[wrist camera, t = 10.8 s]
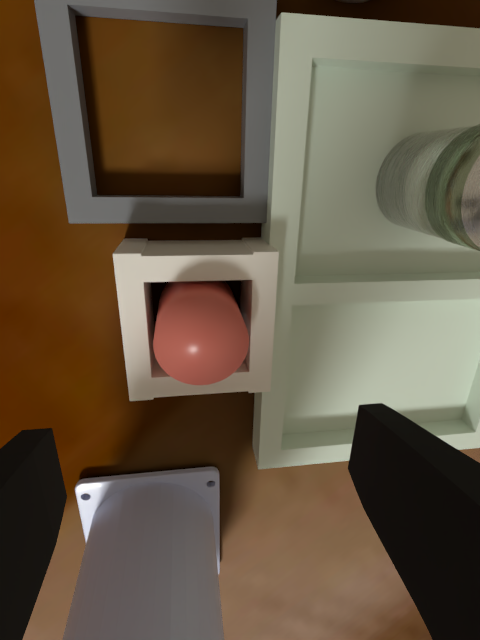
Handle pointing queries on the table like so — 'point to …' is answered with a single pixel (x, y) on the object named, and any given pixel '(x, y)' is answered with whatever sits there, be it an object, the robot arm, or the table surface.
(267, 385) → the frame
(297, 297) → the trough tray
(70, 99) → the cradle
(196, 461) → the table surface
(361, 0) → the cup
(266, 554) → the table surface
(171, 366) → the button
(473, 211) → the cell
